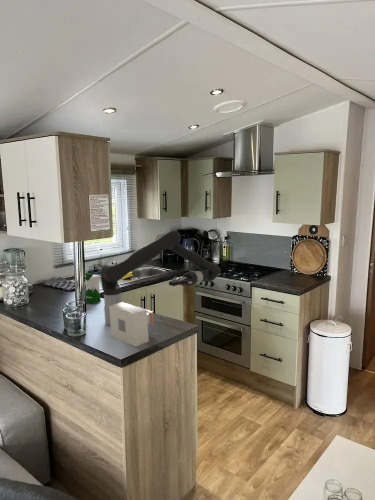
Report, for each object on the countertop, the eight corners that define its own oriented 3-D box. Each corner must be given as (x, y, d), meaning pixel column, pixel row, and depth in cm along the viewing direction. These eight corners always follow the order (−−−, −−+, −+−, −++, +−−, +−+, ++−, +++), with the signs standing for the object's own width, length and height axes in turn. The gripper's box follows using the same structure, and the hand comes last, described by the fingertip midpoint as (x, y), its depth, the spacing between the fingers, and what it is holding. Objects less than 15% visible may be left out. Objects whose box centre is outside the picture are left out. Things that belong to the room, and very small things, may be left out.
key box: (111, 336, 193) (109, 305, 191) (124, 331, 199) (122, 302, 196) (135, 346, 179) (133, 313, 177) (148, 341, 185) (146, 309, 182)
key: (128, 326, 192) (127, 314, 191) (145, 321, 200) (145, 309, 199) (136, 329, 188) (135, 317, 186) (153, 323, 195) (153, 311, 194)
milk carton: (83, 303, 253) (81, 273, 250) (92, 299, 261) (90, 271, 258) (94, 304, 249) (92, 274, 246) (103, 300, 257) (100, 271, 254)
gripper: (184, 270, 222) (162, 275, 210) (201, 273, 212) (179, 279, 200) (185, 282, 223) (162, 288, 211) (202, 286, 213) (179, 292, 201)
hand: (170, 283), depth 206 cm, fingers closed
